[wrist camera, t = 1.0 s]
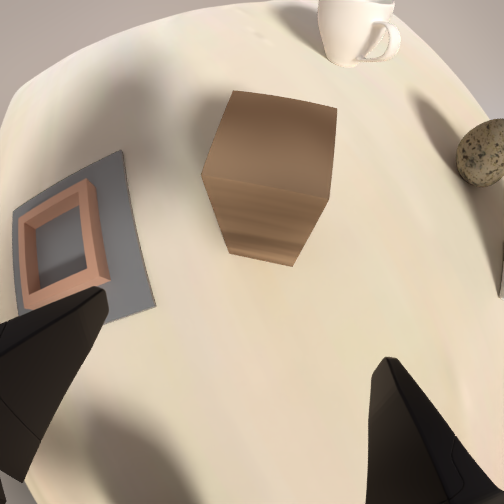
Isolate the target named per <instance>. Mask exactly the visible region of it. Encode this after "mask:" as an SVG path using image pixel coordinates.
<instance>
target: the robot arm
mask: <svg viewBox="0 0 504 504" xmlns="http://www.w3.org/2000/svg"><path fill="white" fill-rule="evenodd" d="M108 313H109V305H108V300H107V294H106V291H105V290H104V289H103V288H100V287H97V286H92V287H90V288H87V289H85V290H82V291H79V292H77V293H74V294H72V295H69V296H67V297H64V298H62V299H59V300H57V301H55V302H52V303H50V304H47V305H45V306H42V307H40V308H37V309H35V310H33V311H30V312H28V313H25V314H23V315H21V316H18V317H16V318H13V319H11V320H9V321H8V322H7V321H6V322H4V323H2V324H0V470H1V471H3V472H4V473H6V474H8V475H9V476H11V477H12V478H14V479H16V480H18V481H19V482H21V483H23V481H24V479H25V477H26V474H27V472H28V470H29V467H30V465H31V463H32V460H33V458H34V456H35V454H36V451H37V449H38V447H39V445H40V443H41V440H42V438H43V436H44V434H45V432H46V430H47V428H48V426H49V424H50V422H51V420H52V418H53V416H54V414H55V412H56V410H57V408H58V407H59V405H60V403H61V401H62V399H63V397H64V395H65V394H66V392H67V390H68V388H69V386H70V385H71V383H72V381H73V379H74V378H75V376H76V374H77V372H78V371H79V369H80V367H81V365H82V364H83V362H84V360H85V359H86V357H87V355H88V354H89V352H90V350H91V348H92V346H93V344H94V342H95V340H96V338H97V336H98V334H99V332H100V330H101V328H102V326H103V324H104V322H105V320H106V318H107V316H108ZM5 503H6V498H5V494H4V491H3V487H2V483H1V479H0V504H5ZM365 504H504V491H502V490H501V489H499V488H498V487H497V486H496V485H495V484H494V483H493V482H492V481H491V480H490V478H489V477H488V476H487V475H486V474H485V472H484V471H483V470H482V469H481V468H480V467H479V465H478V464H477V463H476V462H475V460H474V459H473V458H472V457H471V455H470V454H469V453H468V452H467V450H466V449H465V447H464V446H463V445H462V443H461V442H460V441H459V439H458V438H457V436H455V434H454V432H453V431H452V430H451V428H450V427H449V425H448V424H447V423H446V421H445V420H444V419H443V417H442V416H441V415H440V413H439V412H438V410H437V409H436V408H435V406H434V405H433V404H432V402H431V401H430V400H429V399H428V397H427V396H426V395H425V393H424V392H423V391H422V389H421V388H420V387H419V386H418V384H417V383H416V382H415V380H414V379H413V378H412V377H411V375H410V374H409V373H408V371H407V370H406V369H405V368H404V366H403V365H402V364H401V363H400V361H399V360H398V359H397V358H393V357H385V358H383V359H382V361H381V362H380V364H379V365H378V367H377V368H376V369H375V371H374V372H373V375H372V378H371V393H370V406H369V418H368V473H367V491H366V503H365Z"/></svg>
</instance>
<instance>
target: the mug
mask: <svg viewBox="0 0 504 504" xmlns="http://www.w3.org/2000/svg"><path fill="white" fill-rule="evenodd" d="M394 6H395V3H394V0H319V4H318V12H317V19H318V26H319V30H320V34H321V38H322V41H323V45H324V49H325V53H326V56H327V58H328V60H330V61H331V62H332V63H334V64H336V65H338V66H341V67H346V68H352V67H355V66H357V65H358V64H359V63H360V62H382V61H387V60H390V59H392V58H393V57H394V56H395V55H396V54H397V52H398V50H399V47H400V43H401V36H400V32H399V30H398V28H397V27H396V26H395V25H394V24H392V23H389V22H390V19H391V16H392V13H393V10H394ZM386 30H388V33H389V44H388V47H387V49H386V51H385V53H384V54H383V55H382V56H380V57H378V58H370V59H366V58H365V57H366V56H367V55H368V54H369V53H370V52H371V51H372V50H373V49H374V48H375V47H376V46H377V45H378V44H379V42H380V41H381V40H382V38H383V36H384V35H385V32H386Z"/></svg>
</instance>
